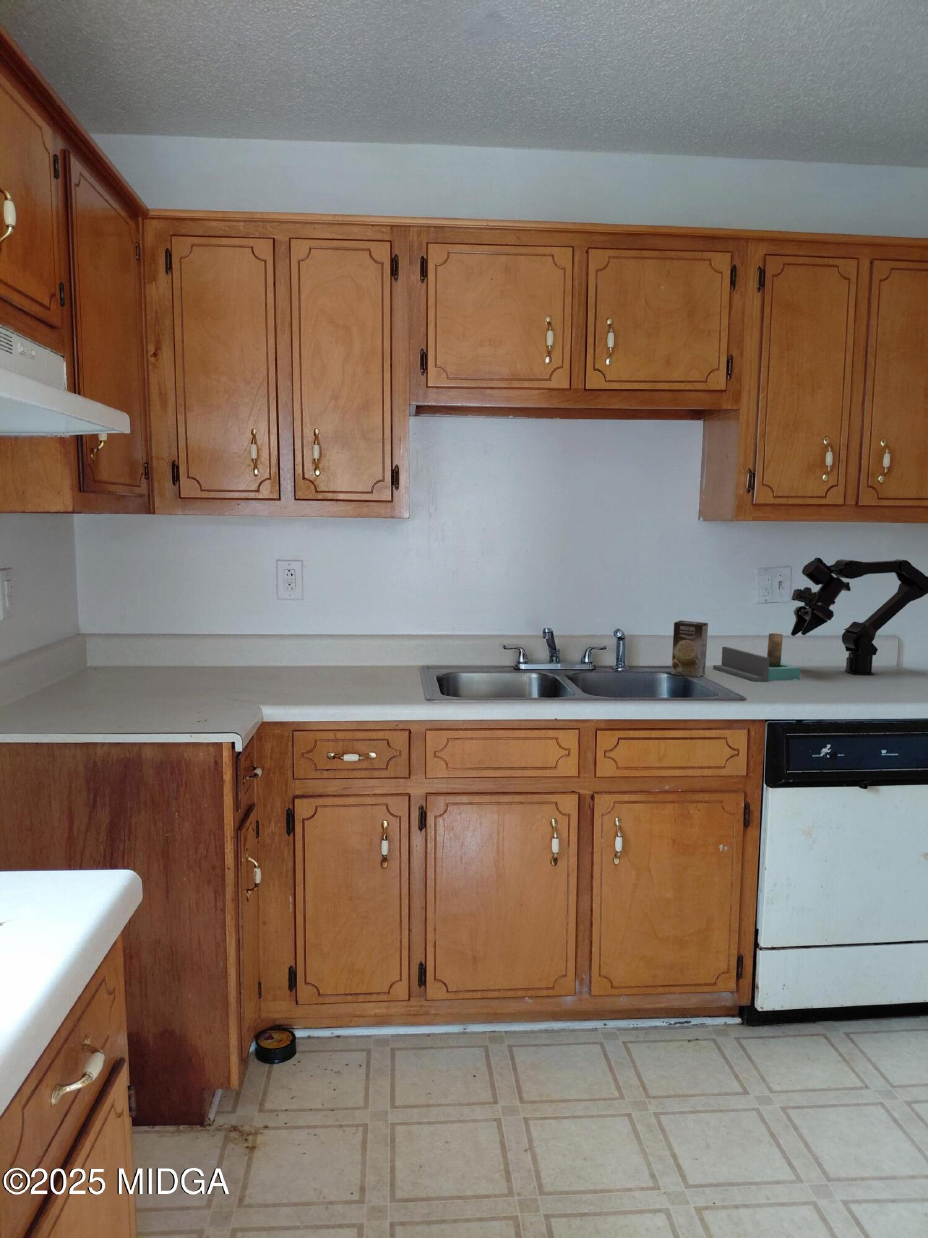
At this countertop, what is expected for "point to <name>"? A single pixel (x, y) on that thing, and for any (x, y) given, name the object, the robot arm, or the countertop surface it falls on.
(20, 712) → the countertop surface
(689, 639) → the coffee box
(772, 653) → the dowel
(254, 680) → the countertop surface
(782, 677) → the socket block
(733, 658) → the backstop wall
